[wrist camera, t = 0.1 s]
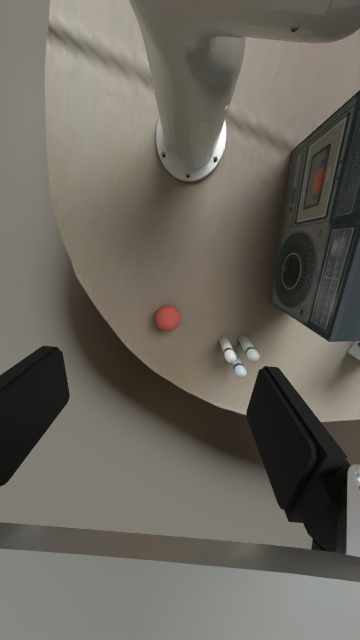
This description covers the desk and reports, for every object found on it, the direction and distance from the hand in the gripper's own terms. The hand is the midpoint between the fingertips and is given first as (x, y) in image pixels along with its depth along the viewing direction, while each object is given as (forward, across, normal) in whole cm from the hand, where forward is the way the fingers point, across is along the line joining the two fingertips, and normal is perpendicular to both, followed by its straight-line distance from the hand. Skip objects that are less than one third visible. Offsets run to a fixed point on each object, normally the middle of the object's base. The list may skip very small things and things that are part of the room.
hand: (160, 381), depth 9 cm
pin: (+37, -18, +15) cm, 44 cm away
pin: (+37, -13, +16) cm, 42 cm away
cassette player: (+37, -24, -10) cm, 45 cm away
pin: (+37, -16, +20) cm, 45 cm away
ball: (+34, +2, +10) cm, 35 cm away
